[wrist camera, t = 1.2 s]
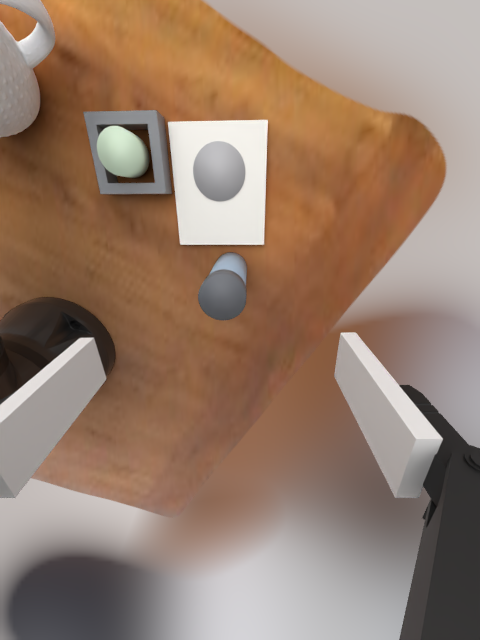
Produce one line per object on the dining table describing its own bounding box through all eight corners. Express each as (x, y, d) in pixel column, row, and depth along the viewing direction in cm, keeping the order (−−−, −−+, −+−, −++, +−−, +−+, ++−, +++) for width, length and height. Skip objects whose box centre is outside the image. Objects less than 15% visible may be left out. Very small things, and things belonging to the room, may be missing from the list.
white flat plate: (181, 243, 32) (180, 244, 31) (169, 123, 27) (167, 121, 26) (263, 243, 31) (263, 244, 31) (267, 121, 26) (267, 119, 26)
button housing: (111, 194, 30) (100, 194, 28) (96, 118, 27) (83, 111, 25) (172, 193, 29) (165, 193, 27) (164, 117, 27) (156, 110, 24)
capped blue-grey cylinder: (215, 284, 34) (200, 320, 24) (213, 251, 32) (196, 274, 22) (247, 284, 34) (245, 320, 24) (247, 251, 32) (246, 275, 22)
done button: (115, 178, 28) (102, 176, 25) (106, 132, 26) (92, 126, 24) (152, 177, 27) (142, 175, 25) (146, 131, 26) (135, 125, 23)
